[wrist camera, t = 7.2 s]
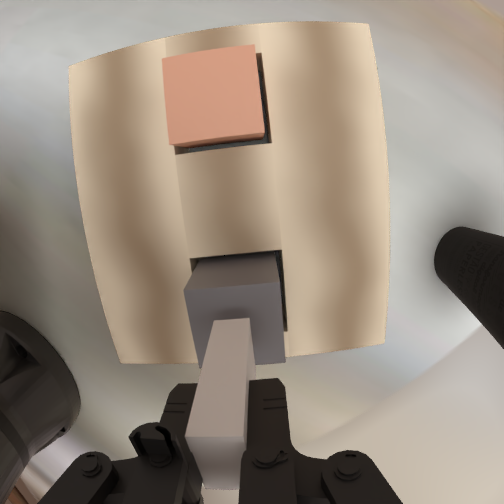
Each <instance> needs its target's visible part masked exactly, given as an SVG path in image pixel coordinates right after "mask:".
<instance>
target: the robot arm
mask: <svg viewBox="0 0 504 504" xmlns="http://www.w3.org/2000/svg"><path fill="white" fill-rule="evenodd" d="M79 411H80V398H79V393H78V390H77V387H76V384H75V382H74V380H73V377H72V375H71V374H70V372H69V370H68V368H67V367H66V365H65V363H64V362H63V360H62V359H61V358H60V356H59V355H58V354H57V352H56V351H55V350H54V349H53V347H52V346H51V345H50V344H49V343H48V342H47V341H46V340H45V339H44V338H43V337H42V336H41V335H40V334H39V333H38V332H37V331H36V330H35V329H34V328H32V327H31V326H30V325H28V324H27V323H26V322H24V321H23V320H21V319H20V318H18V317H16V316H14V315H12V314H9V313H7V312H3V311H0V504H5V502H6V500H7V498H8V496H9V495H10V493H11V491H12V489H13V487H14V486H15V484H16V482H17V480H18V479H19V477H20V475H21V473H22V472H23V470H24V468H25V467H26V465H27V464H28V462H29V461H30V459H31V457H32V456H34V455H35V454H37V453H38V452H39V451H41V450H42V449H44V448H45V447H47V446H48V445H50V444H51V443H52V442H54V441H55V440H56V439H57V438H59V437H61V436H63V435H64V434H65V433H67V432H68V430H69V429H70V428H71V426H72V425H73V423H74V421H75V420H76V418H77V416H78V414H79ZM129 439H130V441H131V443H132V445H133V447H134V449H135V451H136V452H137V454H138V457H135V458H131V459H125V460H118V461H111V460H110V459H109V457H108V456H106V455H105V454H103V453H100V452H96V451H95V452H87V453H85V454H82V455H80V456H79V457H78V458H76V459H75V460H74V461H73V463H72V464H71V465H70V466H69V467H68V468H67V470H66V471H65V472H64V473H63V474H62V475H61V477H60V478H59V479H58V480H57V481H56V482H55V484H54V485H53V486H52V487H51V488H50V489H49V491H48V492H47V493H46V494H45V495H44V496H43V498H42V499H41V500H40V501H39V502H38V503H37V504H204V503H203V497H202V495H201V487H202V482H203V484H204V486H205V489H221V490H222V489H223V490H229V489H230V490H233V489H235V490H236V489H239V503H238V504H403V503H402V502H401V500H400V499H399V498H398V496H397V495H396V493H395V492H394V491H393V489H392V488H391V486H390V485H389V483H388V482H387V481H386V479H385V478H384V477H383V475H382V474H381V472H380V471H379V469H378V468H377V466H376V465H375V464H374V462H373V461H372V459H370V458H369V457H368V456H367V455H366V454H364V453H361V452H359V451H352V450H346V451H342V452H337V453H335V454H333V455H332V456H330V457H329V458H328V459H327V460H326V459H317V458H311V457H307V456H305V455H303V454H300V453H299V452H298V451H297V450H295V448H294V447H293V445H292V443H291V440H290V430H289V420H288V410H287V401H286V392H285V386H284V385H283V384H282V382H281V381H280V380H279V379H278V378H273V379H260V380H256V367H255V359H254V351H253V343H252V335H251V327H250V319H249V318H242V319H229V320H214V322H213V326H212V330H211V334H210V338H209V341H208V345H207V349H206V353H205V357H204V361H203V365H202V369H201V373H200V377H199V381H198V383H193V384H178V385H177V386H176V387H175V388H174V389H173V390H172V391H171V392H170V393H169V396H168V399H167V402H166V405H165V408H164V413H163V414H162V417H161V420H160V422H153V423H146V424H144V425H141V426H139V427H137V428H136V429H135V430H133V431H132V433H131V434H130V436H129Z"/></svg>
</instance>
